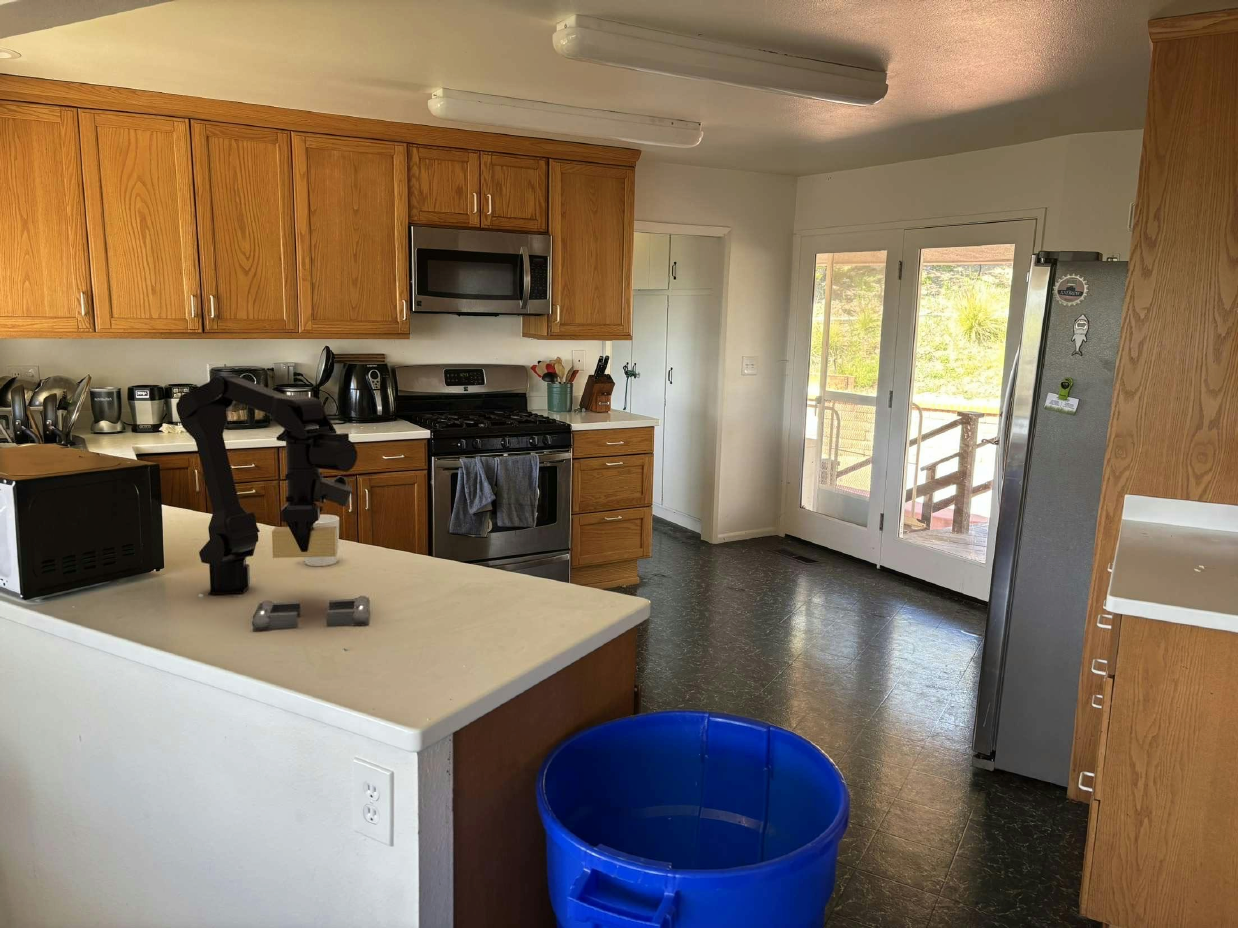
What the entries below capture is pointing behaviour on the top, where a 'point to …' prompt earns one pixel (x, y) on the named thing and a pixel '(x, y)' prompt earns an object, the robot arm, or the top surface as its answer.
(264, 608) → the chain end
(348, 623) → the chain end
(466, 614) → the top surface
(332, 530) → the gold ingot
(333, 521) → the white cup
